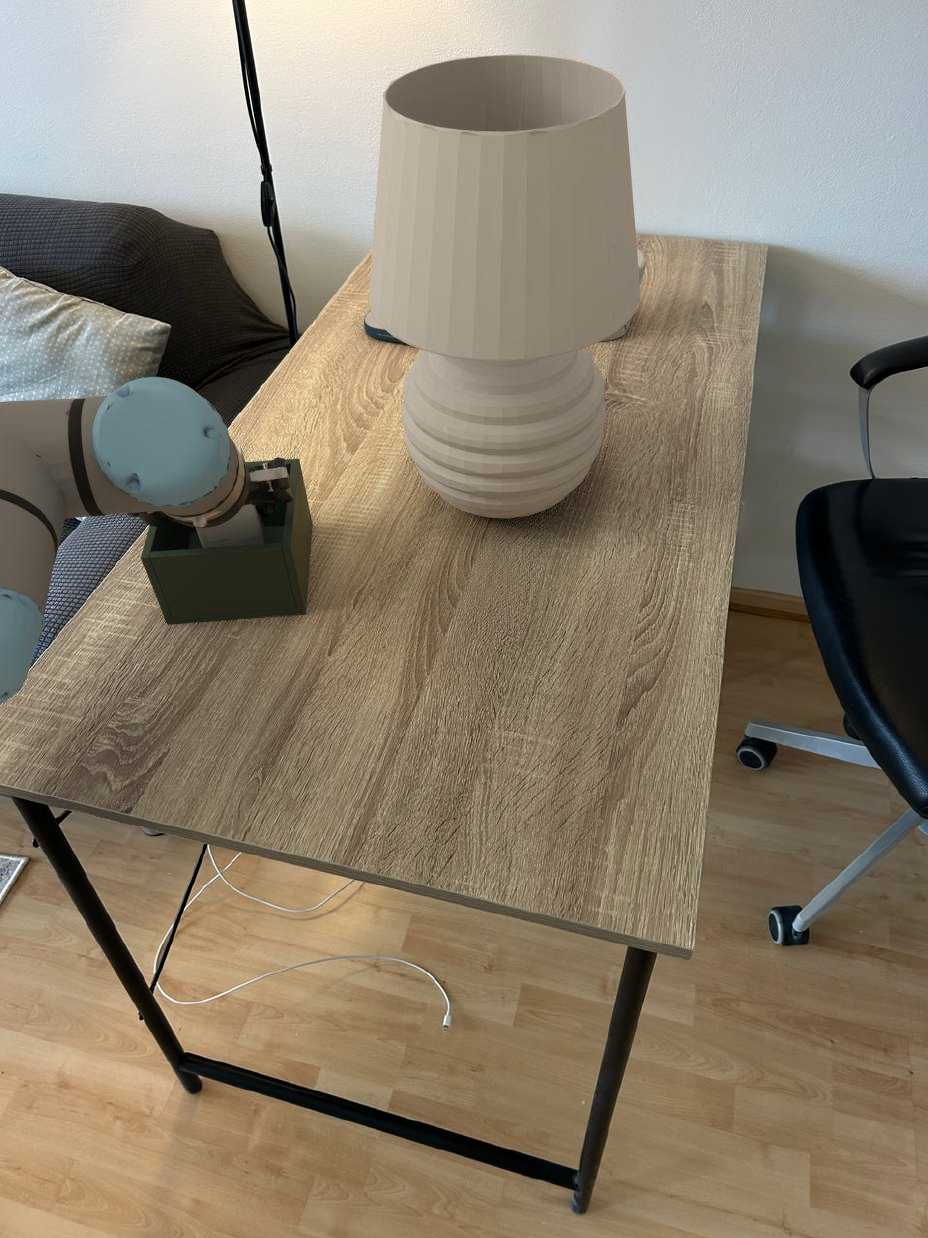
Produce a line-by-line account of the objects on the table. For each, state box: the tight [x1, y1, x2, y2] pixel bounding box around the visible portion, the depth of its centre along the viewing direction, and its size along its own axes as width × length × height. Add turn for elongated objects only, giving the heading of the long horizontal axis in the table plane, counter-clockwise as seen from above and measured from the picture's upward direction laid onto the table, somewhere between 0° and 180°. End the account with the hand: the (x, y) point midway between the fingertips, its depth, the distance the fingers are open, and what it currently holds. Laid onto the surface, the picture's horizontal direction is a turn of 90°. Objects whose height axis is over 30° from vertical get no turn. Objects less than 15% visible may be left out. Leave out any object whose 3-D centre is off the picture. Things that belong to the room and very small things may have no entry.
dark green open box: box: [140, 458, 314, 625], centre depth 89 cm, size 14×14×9 cm
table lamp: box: [367, 53, 641, 520], centre depth 86 cm, size 25×25×40 cm
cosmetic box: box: [196, 445, 269, 548], centre depth 87 cm, size 6×4×12 cm
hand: (229, 509), depth 91 cm, fingers closed on cosmetic box, 6 cm apart
